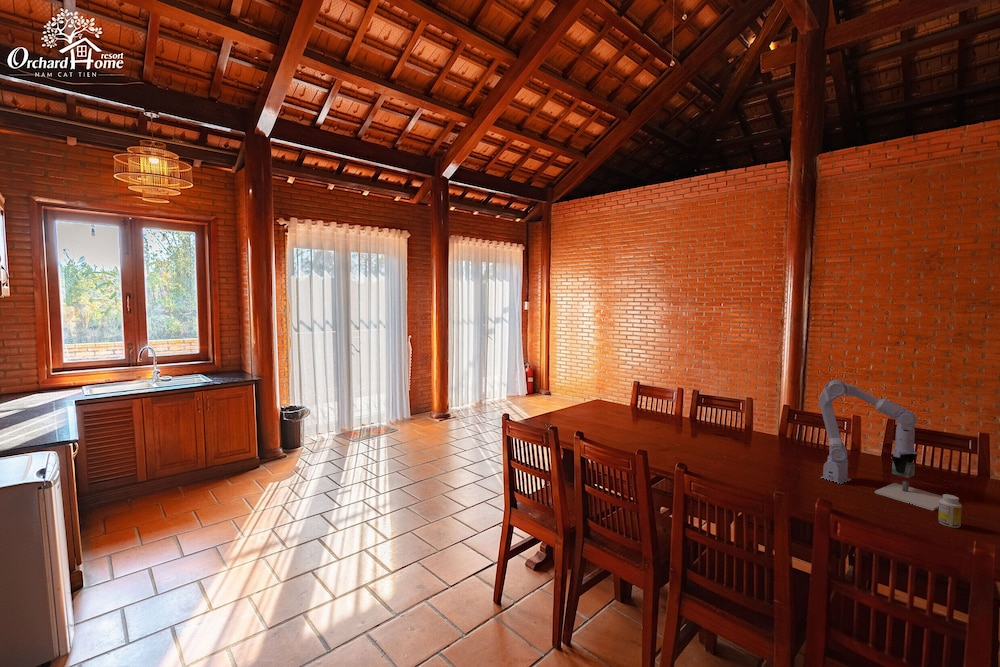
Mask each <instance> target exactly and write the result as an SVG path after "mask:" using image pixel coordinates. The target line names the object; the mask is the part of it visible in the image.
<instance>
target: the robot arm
mask: <svg viewBox="0 0 1000 667" xmlns="http://www.w3.org/2000/svg"><path fill="white" fill-rule="evenodd" d="M843 395H845V396H846V397H850V396H851V397H855V398H857V399H860V400H861V401H863V402H865V403H869V404H870V405H872V406H874V408H875V410H876V411H878V412H879V413H881V414H884V415H885V416H886V417H889V418H891V419H893V420H894V419H895V420H897V421H896V427H895V428H896V429H895V440H894V442H895V444H894V448H893V449H894V450H893V453H891V454H890V457H891V459H892V462H894V464H895V468H896V472H899V473H904V471H905V466H906V463H907V462H910V463H913V462H914V461H915V460H916V458H917V457H918V451H916V450H915V449H916V448H915V436H916V434H915V432H916V429H915V427H916V424H917V423H918V419H917V417H916V415H915V414H914V413H913V412H912V411H911V410H909V409H908V408H906V407H904V406H900V405H898V404H897V403H894V402H893V400H891V399H886V398H881V399H880V398H877V397H875V396H874V395H872V394H870V393H868V392H867V391H864V390H862V389H860V388H859V387H857V386H855V385H854V384H853V385H852V384H850V383H849V382H843V380H841V379H839V378H837V379H831V380H830V381H828V382H827V383H826V384H825V386H824V388H823V389H822V391H821V393H820V395H819V397H818V403H819V407H820V410H821V411H820V412H821V414H822V419H823V422H824V426H825V430H826V434H827V437H828V443H829V447H828V449H829V451H828V452H829V453H828V454H829V455H827V461H825V463H823V468H822V469H823V471H822V476H820V479H822V478H824V480H826V479H827V481H829V480H830V481H829V482H832V481H834V483H835V482H837V483H836V484H839V483H840V485H842V484H845V483H847V481H848V482H849V481H852V478H850V477H848V467H849V459H848V449H847V447H846V445H845V444H844V443H843V440H842V437H841V433H840V429H839V426H838V421H837V419H836V414H835V410H834V407H833V402H834V401H835V400H836V399H837V398H840V397H841V396H842V397H843ZM844 482H845V483H844Z"/></svg>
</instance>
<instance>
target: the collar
mask: <svg viewBox="0 0 1000 667" xmlns="http://www.w3.org/2000/svg"><path fill="white" fill-rule="evenodd" d="M915 465H916V464H915V463H910V462H907V463H906V466H905V471H904V473H899V472H896V468H895V464H894V461H892V465H891V475H896V476H898V477H903V478H908V479H909V478H911V477H914V476H915V467H916V466H915Z"/></svg>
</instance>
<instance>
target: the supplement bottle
mask: <svg viewBox="0 0 1000 667" xmlns="http://www.w3.org/2000/svg"><path fill="white" fill-rule="evenodd" d="M942 496H943V499H941V500H940V501H939V508H938V523H939V524H941V525H942V526H944V527H949V528H953V529H958V528H960V527H961V525H962V523H961V522H962V510H963V509H962V508H963V505H962V504H961V503H960V502H959V501H960V498H959V497H957V496H956V495H952V494H948V493H945V494H942Z"/></svg>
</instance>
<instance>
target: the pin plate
mask: <svg viewBox="0 0 1000 667" xmlns="http://www.w3.org/2000/svg"><path fill="white" fill-rule="evenodd" d="M909 483H910V482H909V481H907V480H902V484H901V483H897V482H893V483H890V484H887V485H886V486H883V487H881V488H878V489H876V490H875V491H874V494H876V495H880V496H883V497H887V498H890V499H893V500H896V501H899V502H903V503H907V504H909V503H910V505H912V504H913V506H916V507H918V508H919V507H920V508H923V509H926V510H929V511H936V510H938V509H939V501H940V500H941V499H943V495H940V494H937V493H932V492H929V491H926V490H922V489H918V488H915V487H912V486H909Z"/></svg>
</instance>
